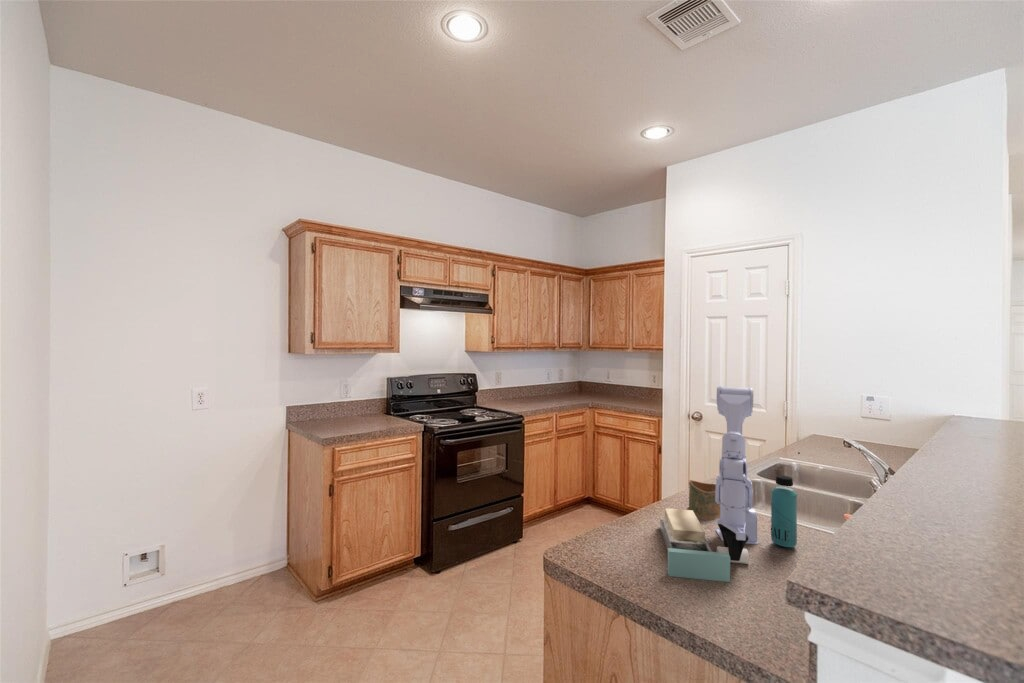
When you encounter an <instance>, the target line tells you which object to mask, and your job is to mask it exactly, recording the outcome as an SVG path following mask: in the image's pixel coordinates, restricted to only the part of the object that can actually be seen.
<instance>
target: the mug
mask: <svg viewBox="0 0 1024 683" xmlns="http://www.w3.org/2000/svg"><path fill="white" fill-rule="evenodd" d="M688 487H689V488H688V490H689V492H688V507H687V508H686V509H685V510H693V512H694V514H695V515H696V517H697V519H703V520H711V519H714V520H716V519H720V502H719V504H717V502H716V501H715V488H716V483H707V482H701V481H696V480H692V479H690V480H689V482H688Z"/></svg>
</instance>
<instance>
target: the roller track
mask: <svg viewBox="0 0 1024 683" xmlns="http://www.w3.org/2000/svg"><path fill="white" fill-rule="evenodd" d="M659 529H660V533H661V535H662V538H663V541H664V544H665V547H666V551H667V552H668V548H674V549H685V550H697V551H708V552H713V550H712V548H711V546H710V545H709V543H708V541H707V538H706V537H705V541H693V540H681V539H673V536H672V534H671V531H670V528H669V526H668V523H667V521H666V520H663V519H659Z"/></svg>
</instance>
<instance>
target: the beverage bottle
mask: <svg viewBox="0 0 1024 683" xmlns="http://www.w3.org/2000/svg"><path fill="white" fill-rule="evenodd" d="M793 481H794V480H793V478H792V477H791V476H788V475H776V478H775V485H778V486H776V487H774V488H773V489H771V491H770V492H771V503H770V505H771V508H770V512H771V514H770V516H771V517H770V539H771V542H772V543H774V545H775V544H776V545H778V546H781V547H783V548H784V547H785V548H794V547H796V546H797V544H798V524H797V523H798V522H797V521H798V520H797V519H798V518H797V516H798V515H797V514H798V493H797V492H795V490H794V489H793V488H791V487H793V486H794V483H793Z"/></svg>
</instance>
